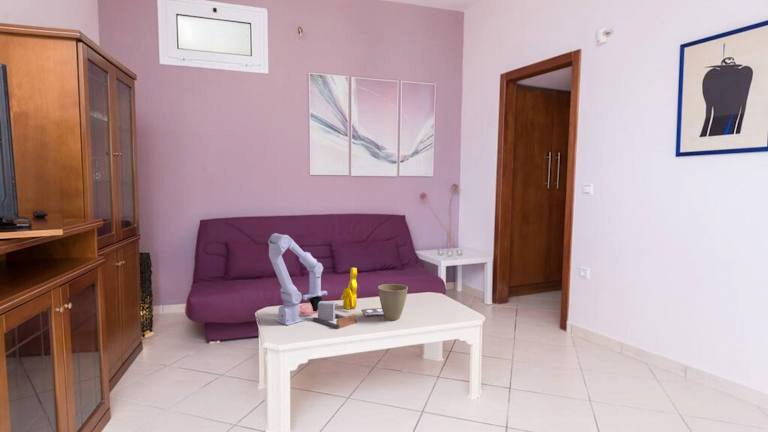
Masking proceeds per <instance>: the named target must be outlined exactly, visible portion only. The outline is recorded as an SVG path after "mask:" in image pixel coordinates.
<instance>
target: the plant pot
mask: <svg viewBox="0 0 768 432" xmlns="http://www.w3.org/2000/svg"><path fill="white" fill-rule="evenodd" d="M377 287H378V289H377V290H378V297H379V301H380V305H381V306H380V307H381V309H382V312H383V316H384V318H385V319H386V320H388V321H398V320H399V319H400V318H401V315H402V313H403V310H404V307H405V303H406V300H407V295H408V290H409V288H408V286H406V285H404V284H397V283H385V284H381V285H378V286H377Z"/></svg>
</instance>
